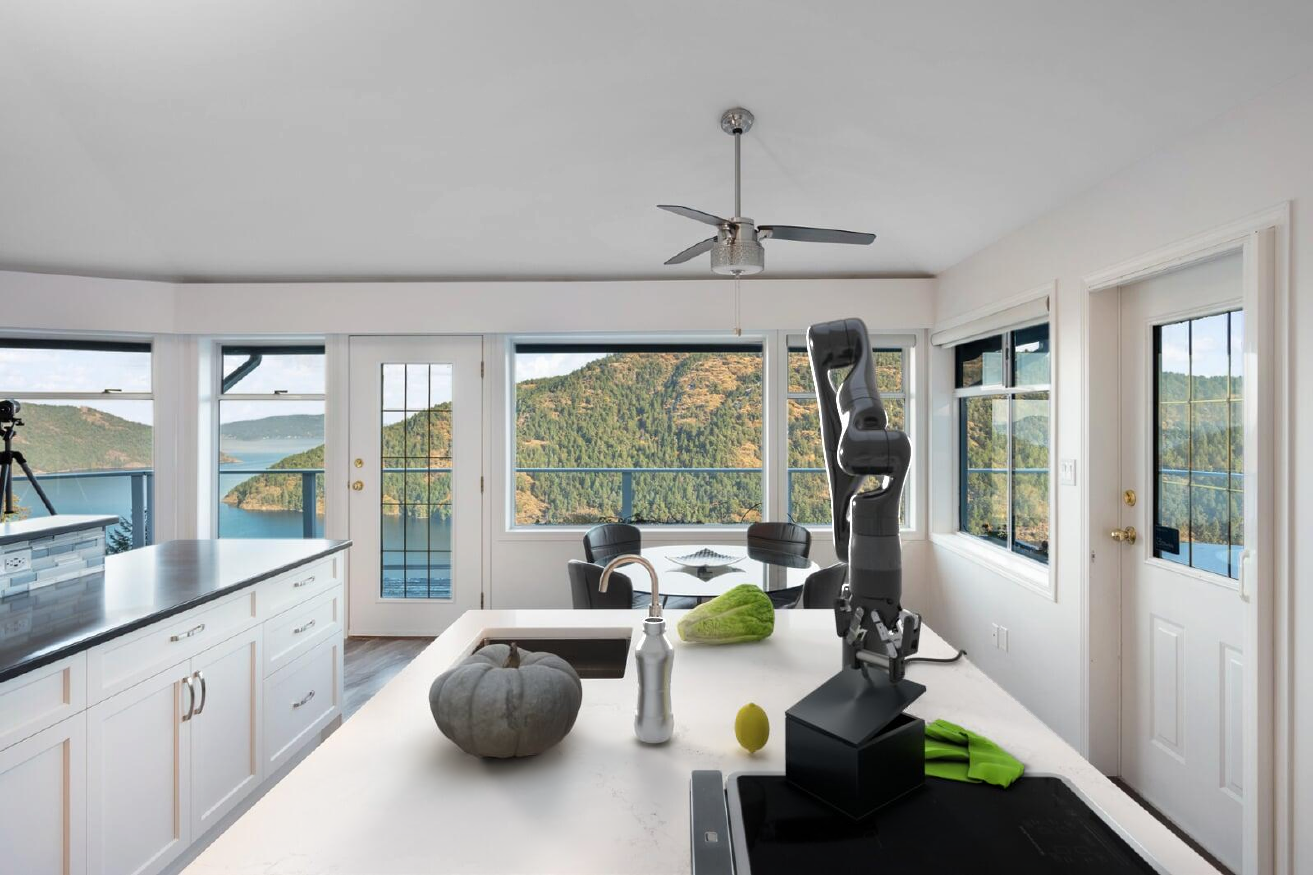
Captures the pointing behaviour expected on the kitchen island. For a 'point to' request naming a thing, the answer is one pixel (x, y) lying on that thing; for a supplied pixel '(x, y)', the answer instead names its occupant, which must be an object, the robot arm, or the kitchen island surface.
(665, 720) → the silver bottle
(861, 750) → the box
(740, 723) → the lemon
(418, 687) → the kitchen island surface
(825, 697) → the caddy lid
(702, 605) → the lettuce
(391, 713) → the kitchen island surface
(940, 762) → the cloth
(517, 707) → the gourd
